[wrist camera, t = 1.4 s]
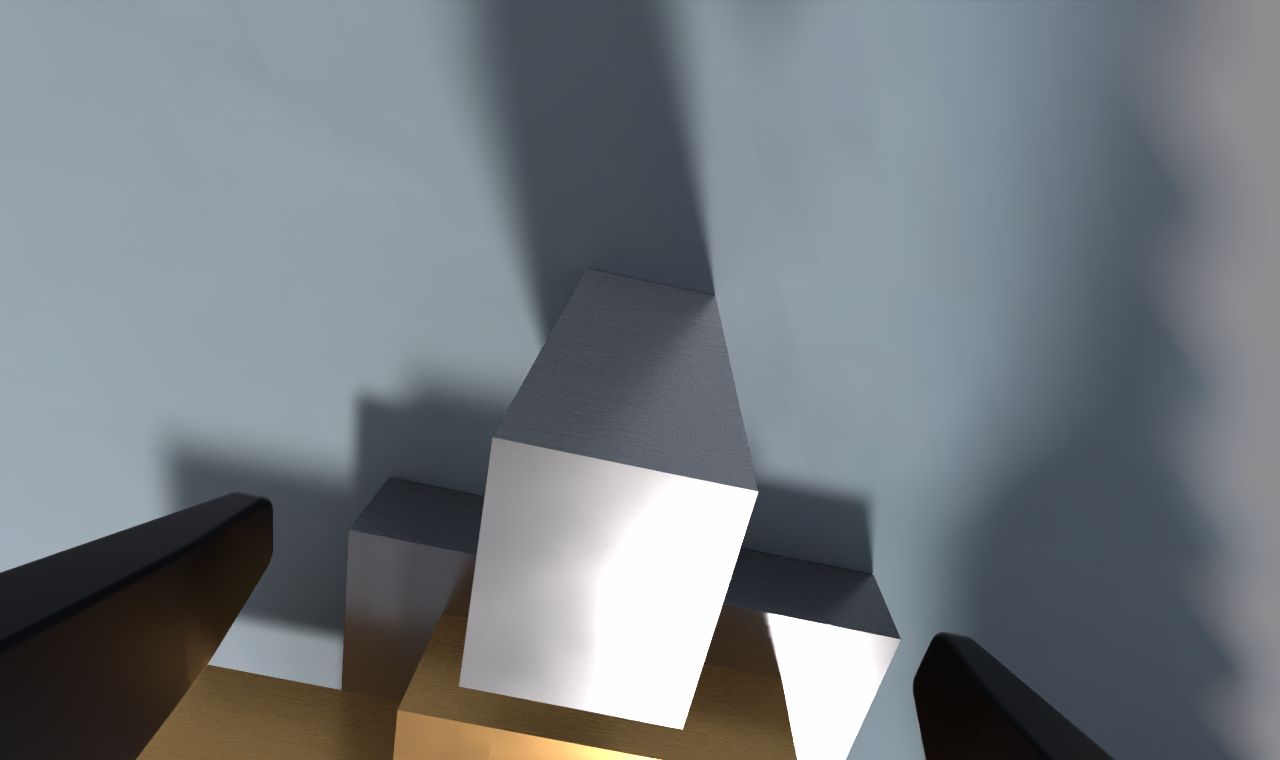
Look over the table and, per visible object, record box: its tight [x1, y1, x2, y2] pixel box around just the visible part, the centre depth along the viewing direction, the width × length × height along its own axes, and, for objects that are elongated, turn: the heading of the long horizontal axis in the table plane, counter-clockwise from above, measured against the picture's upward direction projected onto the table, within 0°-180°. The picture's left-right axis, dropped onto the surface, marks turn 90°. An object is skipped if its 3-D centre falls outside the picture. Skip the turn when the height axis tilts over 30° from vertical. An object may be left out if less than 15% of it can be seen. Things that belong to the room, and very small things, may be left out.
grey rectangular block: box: [459, 268, 758, 729], centre depth 13 cm, size 3×4×9 cm
